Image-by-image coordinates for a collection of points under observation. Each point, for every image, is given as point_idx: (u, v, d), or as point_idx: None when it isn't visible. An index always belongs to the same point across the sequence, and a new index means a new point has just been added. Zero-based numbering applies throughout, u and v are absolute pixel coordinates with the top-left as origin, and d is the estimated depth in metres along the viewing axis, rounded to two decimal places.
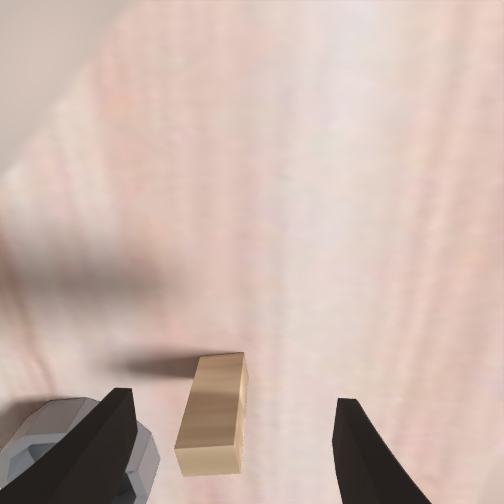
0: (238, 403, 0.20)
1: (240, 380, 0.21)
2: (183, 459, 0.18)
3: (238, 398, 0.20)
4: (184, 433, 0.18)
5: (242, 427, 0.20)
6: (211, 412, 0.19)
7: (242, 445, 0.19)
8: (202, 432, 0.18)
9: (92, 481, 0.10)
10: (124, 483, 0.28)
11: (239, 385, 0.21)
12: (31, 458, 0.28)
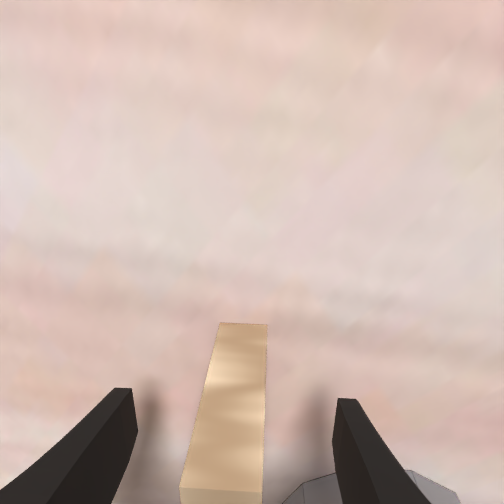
0: (203, 401, 0.11)
1: (211, 364, 0.13)
2: None
3: (203, 394, 0.11)
4: None
5: (249, 412, 0.11)
6: None
7: (262, 436, 0.10)
8: None
9: (92, 481, 0.10)
10: None
11: (208, 373, 0.12)
12: None
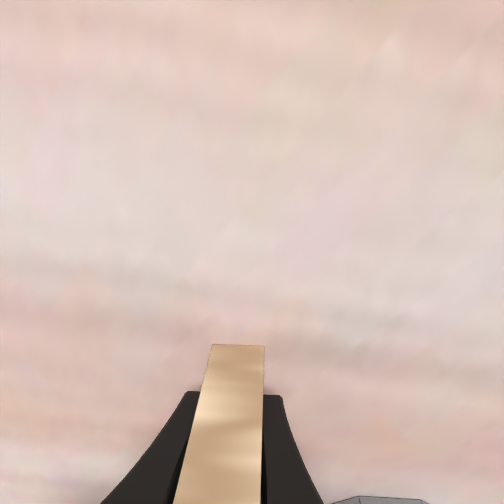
0: (191, 442, 0.10)
1: (201, 395, 0.11)
2: None
3: (192, 433, 0.10)
4: None
5: (243, 455, 0.09)
6: None
7: (258, 487, 0.09)
8: None
9: None
10: None
11: (197, 406, 0.11)
12: None
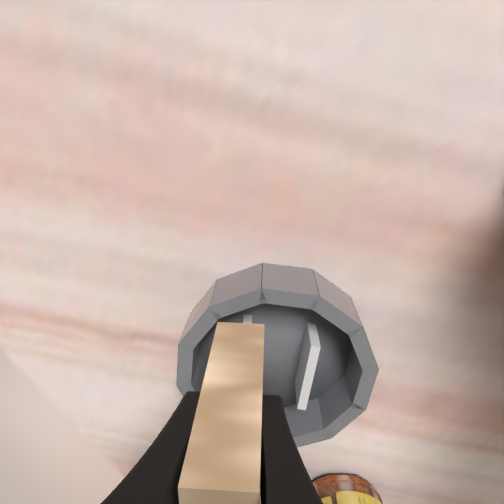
0: (201, 401, 0.11)
1: (208, 364, 0.13)
2: None
3: (201, 394, 0.11)
4: None
5: (246, 412, 0.11)
6: None
7: (259, 436, 0.10)
8: None
9: None
10: (332, 327, 0.21)
11: (205, 373, 0.12)
12: None
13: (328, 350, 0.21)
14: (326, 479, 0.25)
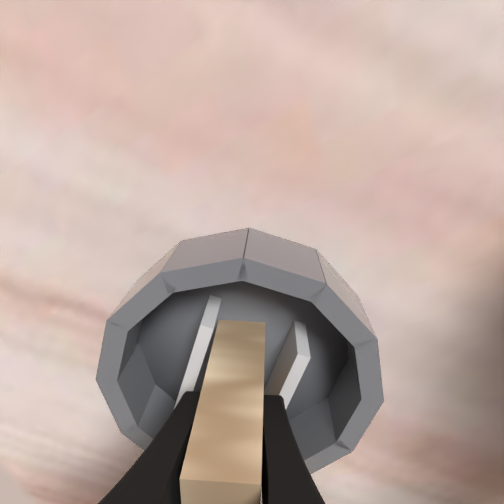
0: (202, 396, 0.11)
1: (210, 360, 0.13)
2: None
3: (203, 389, 0.11)
4: None
5: (248, 406, 0.11)
6: None
7: (260, 430, 0.10)
8: None
9: None
10: (326, 333, 0.15)
11: (207, 369, 0.12)
12: None
13: (314, 362, 0.16)
14: None
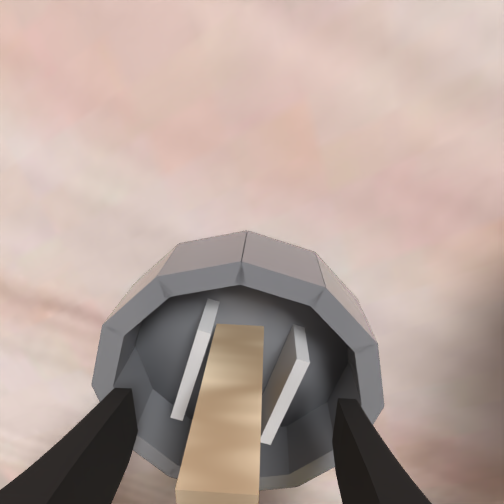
0: (199, 403, 0.11)
1: (207, 365, 0.13)
2: None
3: (200, 395, 0.11)
4: None
5: (245, 413, 0.11)
6: None
7: (258, 438, 0.10)
8: None
9: (92, 481, 0.10)
10: (326, 337, 0.15)
11: (204, 374, 0.12)
12: None
13: (313, 366, 0.15)
14: None
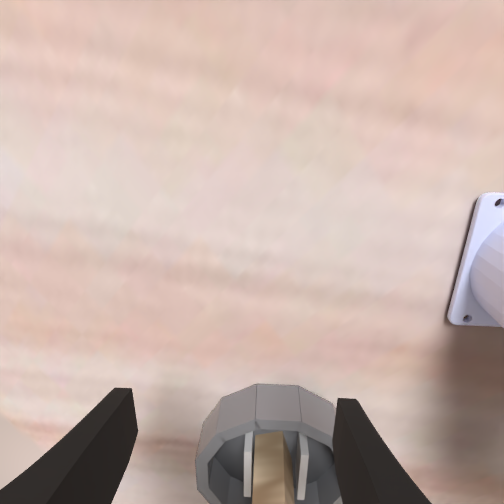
0: (253, 495, 0.21)
1: (254, 469, 0.23)
2: None
3: (253, 490, 0.22)
4: None
5: (277, 498, 0.21)
6: None
7: None
8: None
9: (92, 481, 0.10)
10: None
11: (253, 475, 0.23)
12: None
13: (319, 445, 0.26)
14: None
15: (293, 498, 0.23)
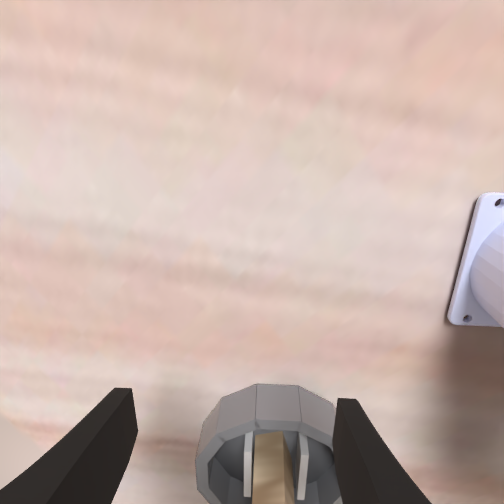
0: (253, 495, 0.21)
1: (254, 469, 0.23)
2: None
3: (253, 490, 0.22)
4: None
5: (277, 498, 0.21)
6: None
7: None
8: None
9: (92, 481, 0.10)
10: None
11: (253, 475, 0.23)
12: None
13: (319, 445, 0.26)
14: None
15: (293, 498, 0.23)
